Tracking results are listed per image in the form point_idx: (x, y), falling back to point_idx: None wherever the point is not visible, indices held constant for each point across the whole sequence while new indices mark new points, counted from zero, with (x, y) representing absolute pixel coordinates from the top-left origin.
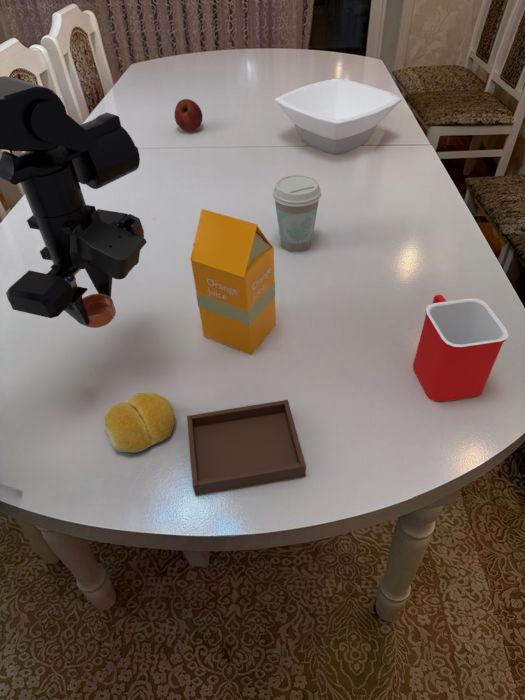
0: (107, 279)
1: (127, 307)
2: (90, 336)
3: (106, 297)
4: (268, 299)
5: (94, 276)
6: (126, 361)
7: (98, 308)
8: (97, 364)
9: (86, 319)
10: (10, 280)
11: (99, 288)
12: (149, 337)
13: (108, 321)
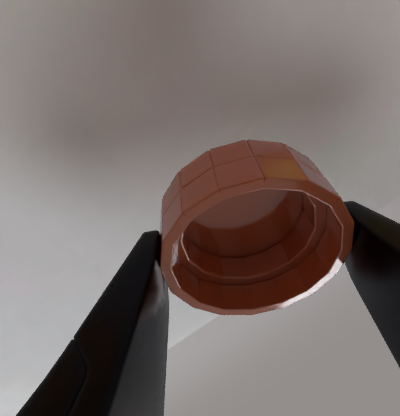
0: (128, 350)
1: (29, 208)
2: (155, 213)
3: (172, 250)
4: None
5: (155, 401)
6: (181, 85)
7: (202, 237)
8: (220, 145)
9: (383, 221)
10: None
11: (163, 313)
12: (69, 85)
13: (275, 143)
